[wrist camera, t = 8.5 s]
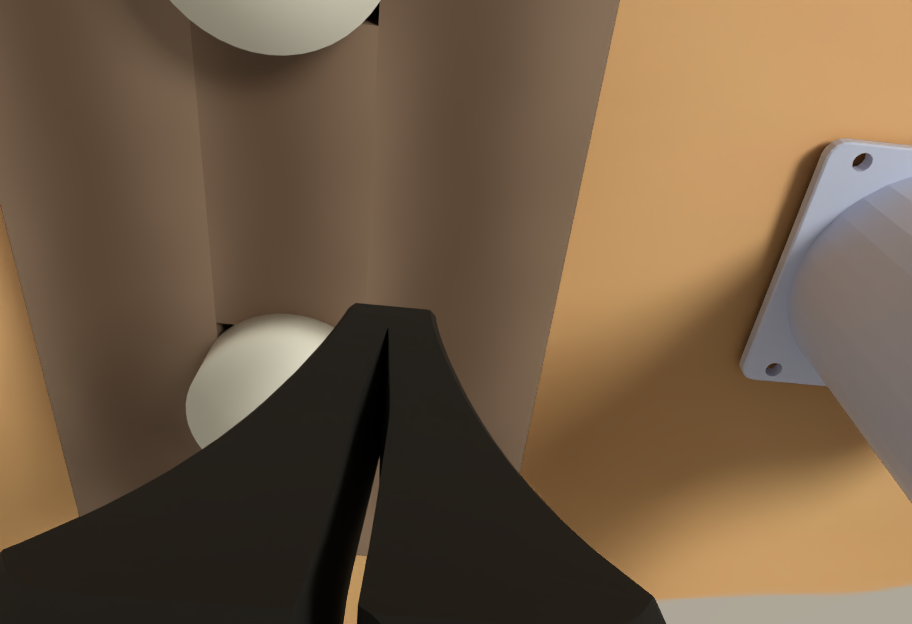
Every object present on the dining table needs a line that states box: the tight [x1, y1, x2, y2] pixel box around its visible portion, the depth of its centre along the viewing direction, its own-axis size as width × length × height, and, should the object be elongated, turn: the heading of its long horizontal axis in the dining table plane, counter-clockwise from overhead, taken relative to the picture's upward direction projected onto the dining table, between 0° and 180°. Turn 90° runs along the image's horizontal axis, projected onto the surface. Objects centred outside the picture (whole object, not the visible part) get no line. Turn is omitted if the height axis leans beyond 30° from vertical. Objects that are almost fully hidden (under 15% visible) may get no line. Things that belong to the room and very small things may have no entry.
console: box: [0, 0, 620, 556], centre depth 18 cm, size 14×26×3 cm, turn 174°
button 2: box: [186, 314, 334, 449], centre depth 21 cm, size 5×5×4 cm
